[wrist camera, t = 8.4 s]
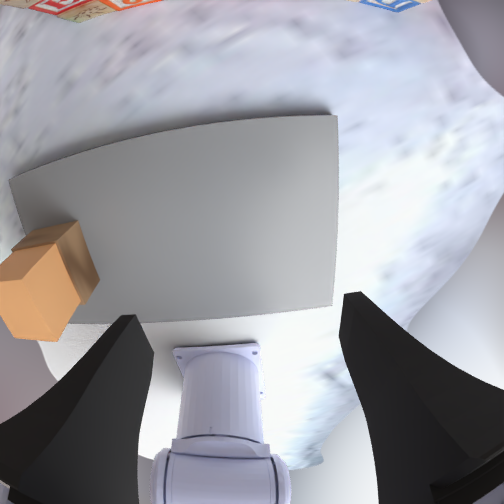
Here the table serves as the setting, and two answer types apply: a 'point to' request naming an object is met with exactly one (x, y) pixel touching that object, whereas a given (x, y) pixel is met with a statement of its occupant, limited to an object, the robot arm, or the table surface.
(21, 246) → the walnut base brick
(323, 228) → the slate baseplate
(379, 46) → the table surface
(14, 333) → the orange brick
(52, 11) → the stack of blocks
